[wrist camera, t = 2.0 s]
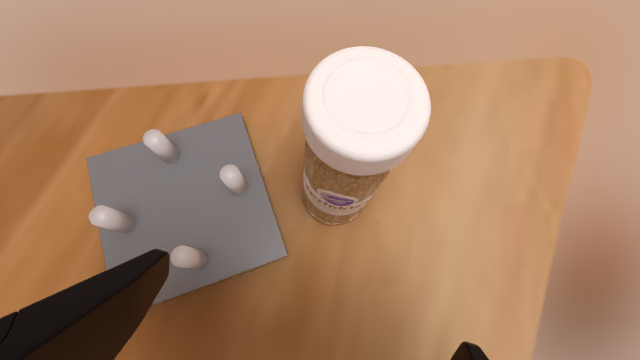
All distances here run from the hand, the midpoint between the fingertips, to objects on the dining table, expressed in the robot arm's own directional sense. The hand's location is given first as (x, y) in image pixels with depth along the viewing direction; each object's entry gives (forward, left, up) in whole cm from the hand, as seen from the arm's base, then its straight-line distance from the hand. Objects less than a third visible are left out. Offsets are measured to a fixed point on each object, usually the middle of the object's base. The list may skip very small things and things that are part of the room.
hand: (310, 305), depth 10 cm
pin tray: (-6, +8, -13) cm, 16 cm away
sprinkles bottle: (+4, +6, -13) cm, 15 cm away
